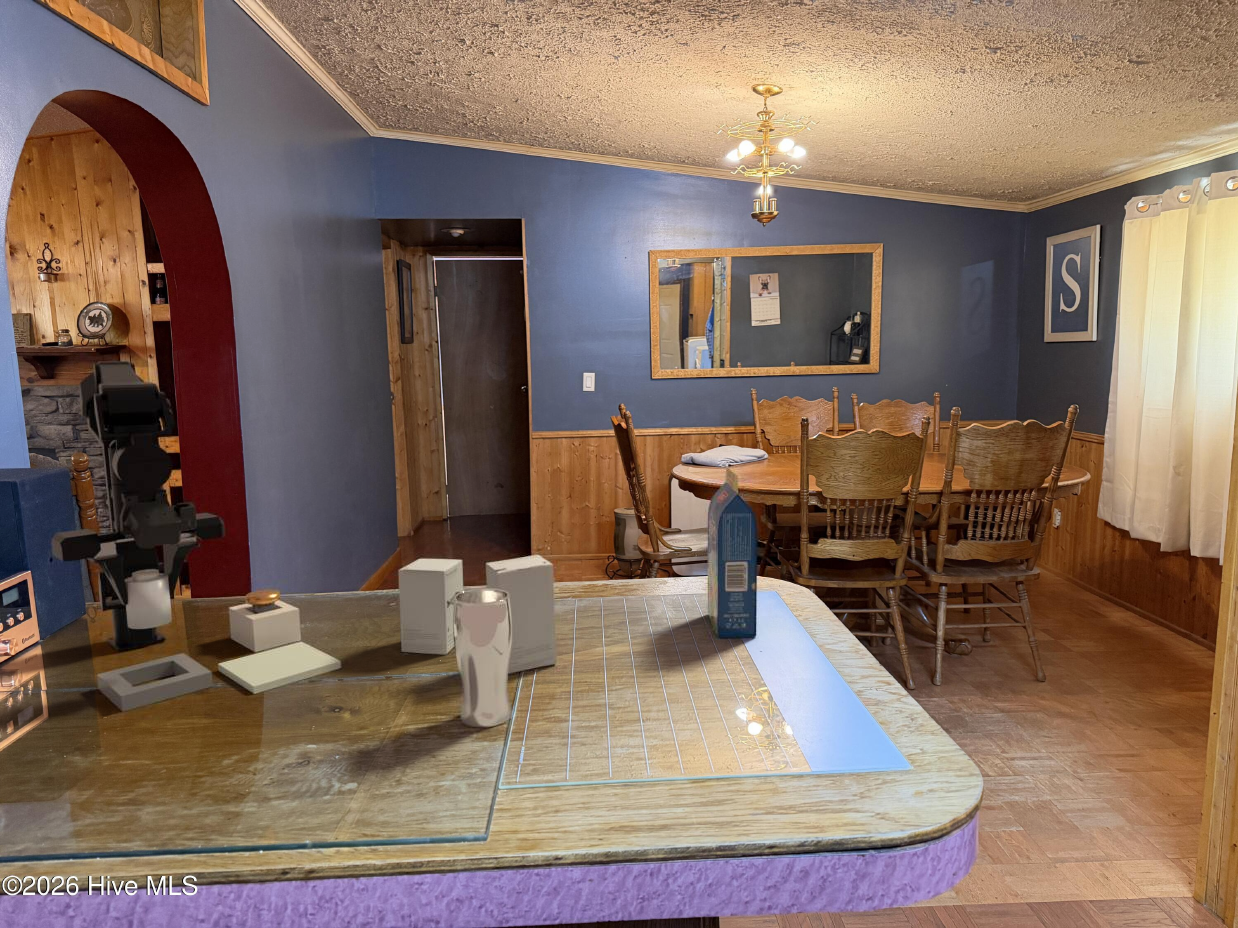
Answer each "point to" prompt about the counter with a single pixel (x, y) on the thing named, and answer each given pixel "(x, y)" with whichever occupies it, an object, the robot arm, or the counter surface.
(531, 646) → the skincare box
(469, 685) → the beer glass
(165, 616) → the cylinder
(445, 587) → the supplement box
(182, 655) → the socket
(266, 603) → the plunger
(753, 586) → the blue food package
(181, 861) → the counter surface
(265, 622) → the plunger housing
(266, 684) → the dock pad
